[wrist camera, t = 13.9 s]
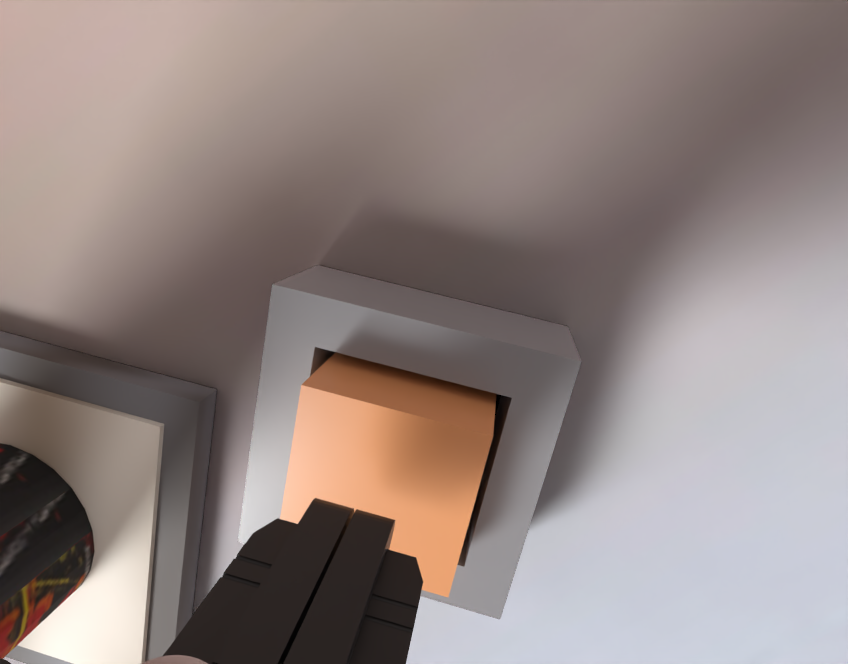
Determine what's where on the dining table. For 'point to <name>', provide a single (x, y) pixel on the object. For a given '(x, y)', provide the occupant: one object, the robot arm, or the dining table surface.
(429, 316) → the button housing
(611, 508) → the dining table surface
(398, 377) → the button
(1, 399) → the drawing board
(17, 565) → the deodorant
